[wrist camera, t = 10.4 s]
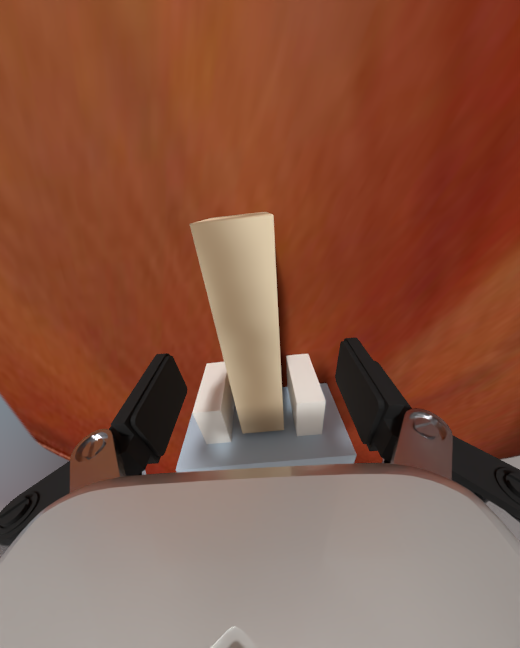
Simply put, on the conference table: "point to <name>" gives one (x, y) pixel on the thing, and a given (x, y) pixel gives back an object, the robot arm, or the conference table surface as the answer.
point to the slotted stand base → (272, 446)
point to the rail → (245, 311)
